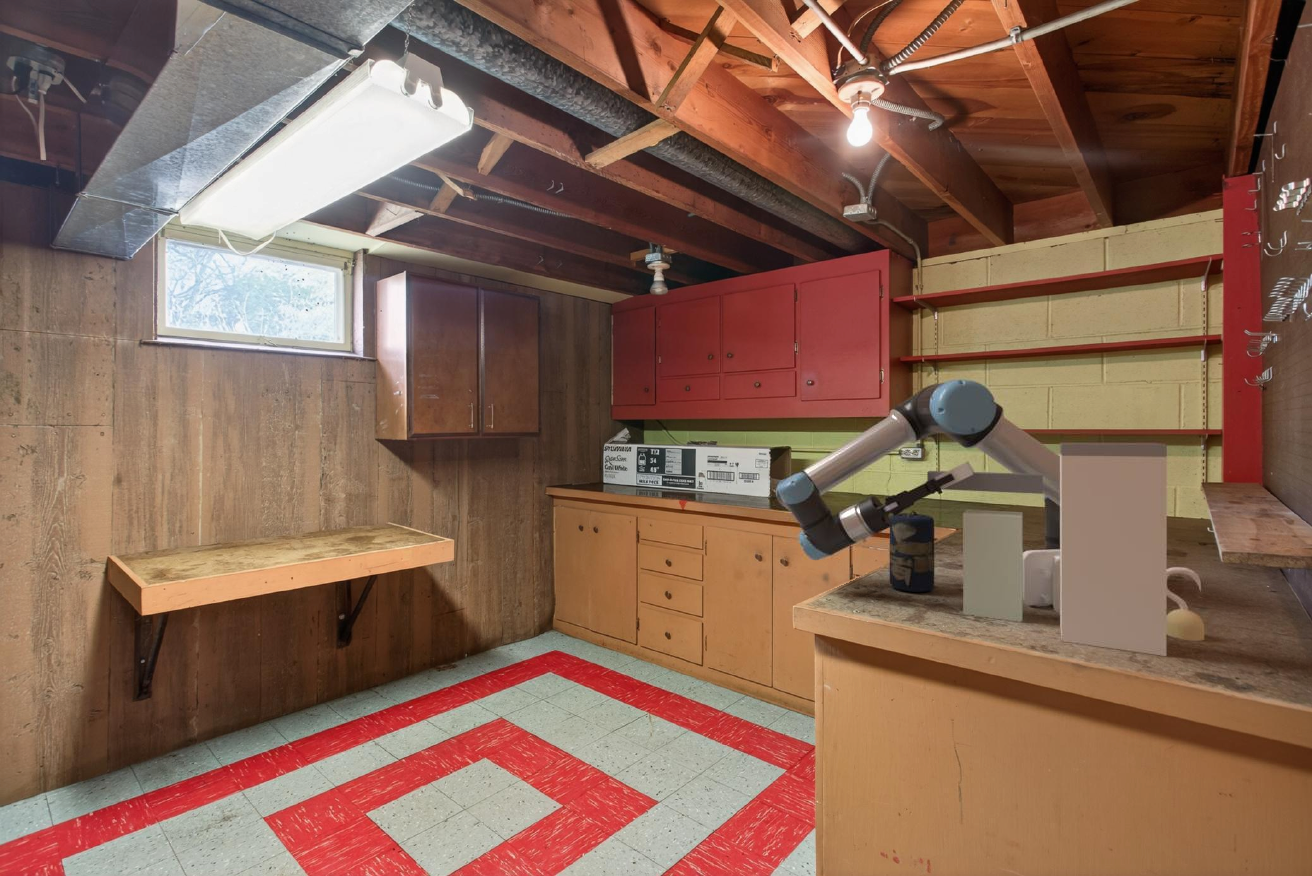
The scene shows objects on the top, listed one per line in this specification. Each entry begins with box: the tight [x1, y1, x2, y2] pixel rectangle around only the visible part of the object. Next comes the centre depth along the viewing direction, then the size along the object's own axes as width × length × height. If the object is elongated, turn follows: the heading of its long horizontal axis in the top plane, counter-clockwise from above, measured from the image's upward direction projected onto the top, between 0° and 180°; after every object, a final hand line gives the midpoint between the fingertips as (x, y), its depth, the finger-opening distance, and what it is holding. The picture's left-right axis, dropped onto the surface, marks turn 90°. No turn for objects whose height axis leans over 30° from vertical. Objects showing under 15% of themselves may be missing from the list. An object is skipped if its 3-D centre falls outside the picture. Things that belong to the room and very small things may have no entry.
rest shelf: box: [962, 508, 1024, 623], centre depth 122 cm, size 7×10×20 cm
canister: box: [888, 510, 935, 593], centre depth 141 cm, size 10×10×18 cm
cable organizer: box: [1023, 549, 1060, 615], centre depth 123 cm, size 15×11×12 cm
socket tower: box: [1059, 442, 1168, 657], centre depth 105 cm, size 8×14×34 cm, turn 58°
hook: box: [1166, 566, 1205, 642], centre depth 108 cm, size 6×5×12 cm
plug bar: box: [926, 470, 1044, 495], centre depth 122 cm, size 4×20×4 cm, turn 58°
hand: (970, 467), depth 123 cm, fingers closed on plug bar, 3 cm apart
